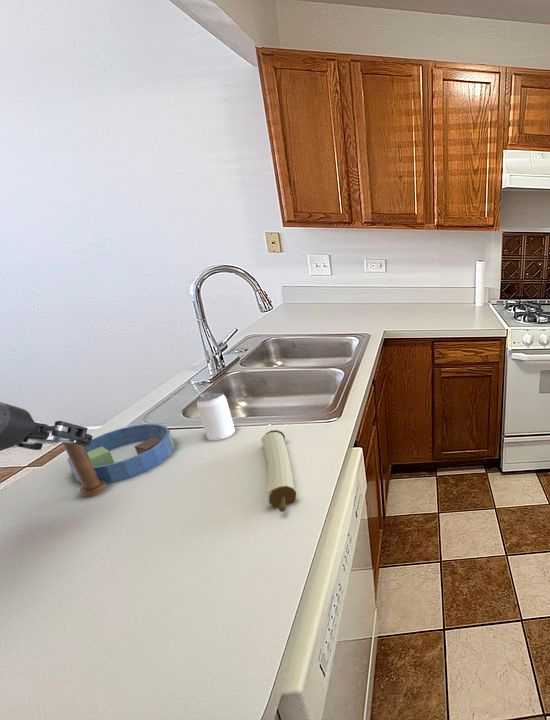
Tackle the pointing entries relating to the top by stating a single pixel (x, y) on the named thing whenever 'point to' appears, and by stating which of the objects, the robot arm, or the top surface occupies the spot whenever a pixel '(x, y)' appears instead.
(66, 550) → the top surface
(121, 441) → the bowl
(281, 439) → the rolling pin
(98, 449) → the block sage
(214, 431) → the can
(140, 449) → the block walnut
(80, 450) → the brown wooden rod
